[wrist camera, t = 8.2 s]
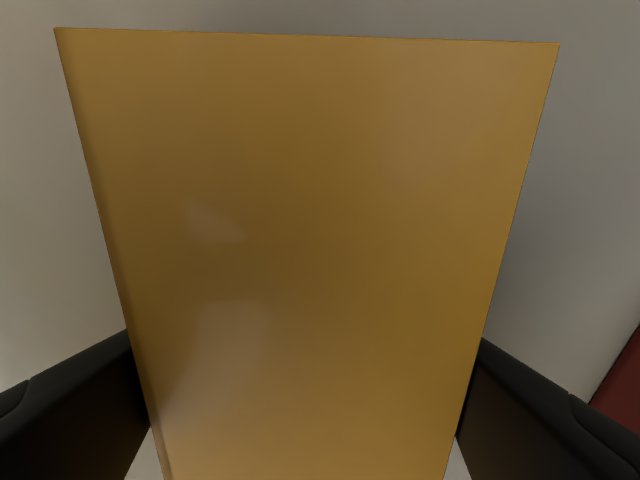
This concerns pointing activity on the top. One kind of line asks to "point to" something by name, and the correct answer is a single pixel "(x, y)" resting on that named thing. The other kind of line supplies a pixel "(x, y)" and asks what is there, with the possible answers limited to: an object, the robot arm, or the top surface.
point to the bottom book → (622, 388)
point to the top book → (304, 235)
